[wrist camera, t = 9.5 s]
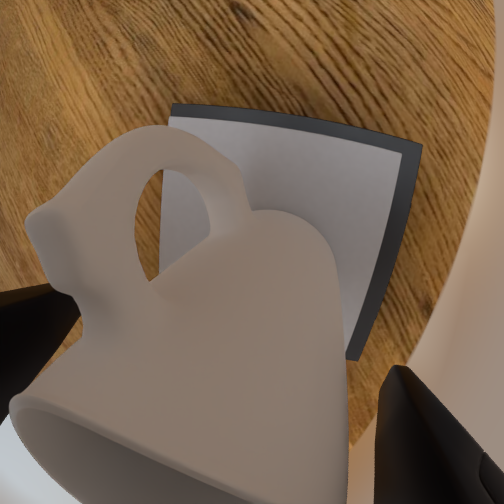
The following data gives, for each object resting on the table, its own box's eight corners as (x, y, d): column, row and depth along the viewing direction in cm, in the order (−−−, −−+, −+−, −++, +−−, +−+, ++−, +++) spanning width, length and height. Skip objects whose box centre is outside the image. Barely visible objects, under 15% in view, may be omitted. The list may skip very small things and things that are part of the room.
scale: (413, 144, 14) (430, 145, 11) (358, 340, 18) (361, 370, 16) (189, 106, 16) (165, 101, 13) (175, 297, 20) (154, 319, 18)
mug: (348, 326, 15) (340, 575, 4) (223, 336, 17) (114, 531, 6) (314, 115, 12) (238, -63, 1) (171, 150, 14) (-91, 213, 3)
